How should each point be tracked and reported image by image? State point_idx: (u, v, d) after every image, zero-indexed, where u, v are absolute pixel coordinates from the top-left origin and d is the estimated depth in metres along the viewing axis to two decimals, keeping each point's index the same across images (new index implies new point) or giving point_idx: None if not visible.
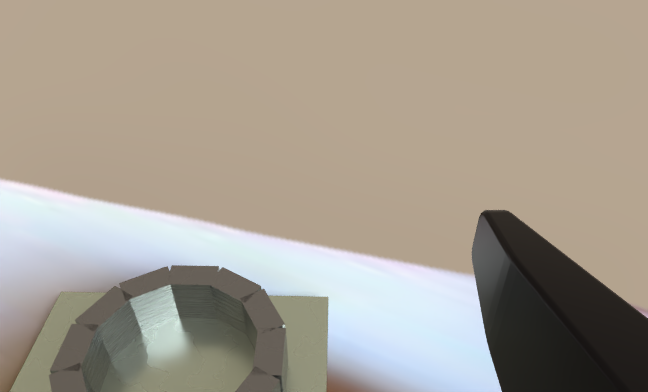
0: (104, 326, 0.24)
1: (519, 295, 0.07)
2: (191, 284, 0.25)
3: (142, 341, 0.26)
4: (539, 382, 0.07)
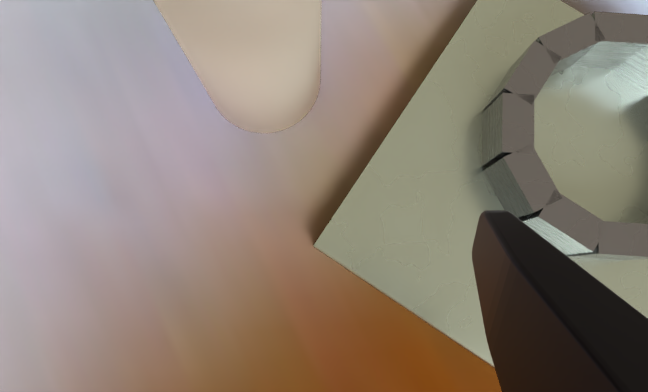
0: (563, 60, 0.21)
1: (519, 295, 0.07)
2: None
3: (568, 78, 0.23)
4: (539, 382, 0.07)
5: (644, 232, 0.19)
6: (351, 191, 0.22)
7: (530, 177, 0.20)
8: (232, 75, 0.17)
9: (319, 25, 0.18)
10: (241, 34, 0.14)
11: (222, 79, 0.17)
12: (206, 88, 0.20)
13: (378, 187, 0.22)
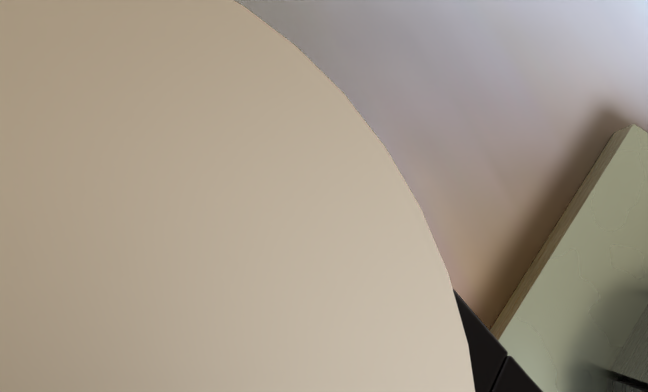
0: None
1: None
2: None
3: None
4: None
5: None
6: None
7: None
8: None
9: None
10: None
11: None
12: None
13: None
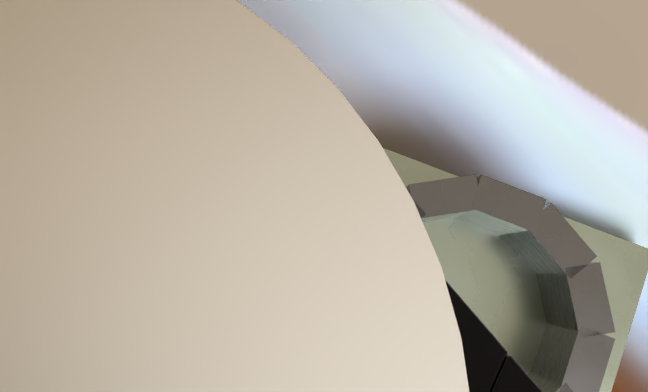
0: None
1: None
2: (504, 219, 0.18)
3: None
4: None
5: None
6: None
7: None
8: None
9: None
10: None
11: None
12: None
13: None
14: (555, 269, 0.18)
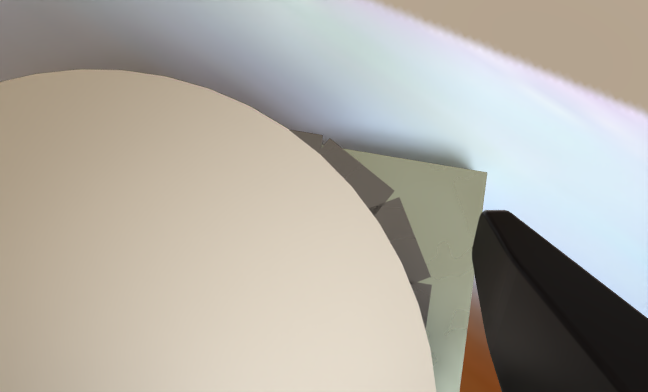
0: None
1: (519, 295, 0.07)
2: None
3: None
4: (539, 382, 0.07)
5: None
6: None
7: None
8: None
9: None
10: None
11: None
12: None
13: None
14: None
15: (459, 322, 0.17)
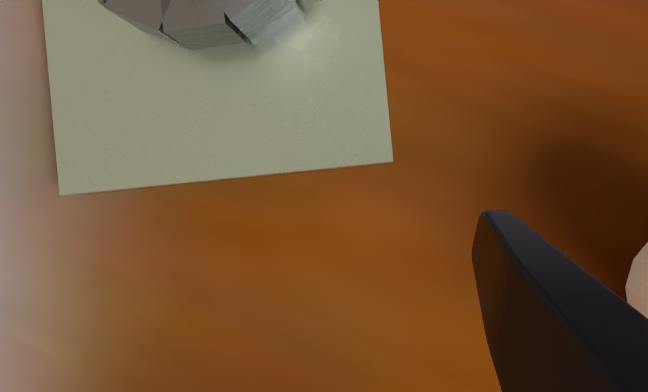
0: None
1: (519, 295, 0.07)
2: None
3: None
4: (539, 382, 0.07)
5: None
6: (54, 130, 0.22)
7: (135, 5, 0.19)
8: None
9: None
10: None
11: None
12: None
13: (71, 110, 0.22)
14: None
15: None
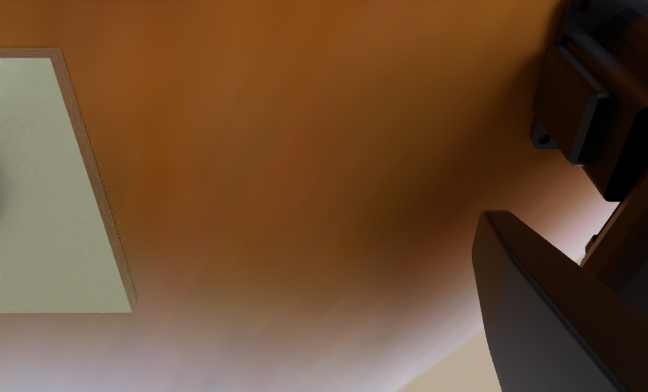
0: None
1: (519, 295, 0.07)
2: None
3: None
4: (539, 382, 0.07)
5: None
6: (79, 312, 0.28)
7: None
8: None
9: None
10: None
11: None
12: None
13: (60, 301, 0.27)
14: None
15: None
